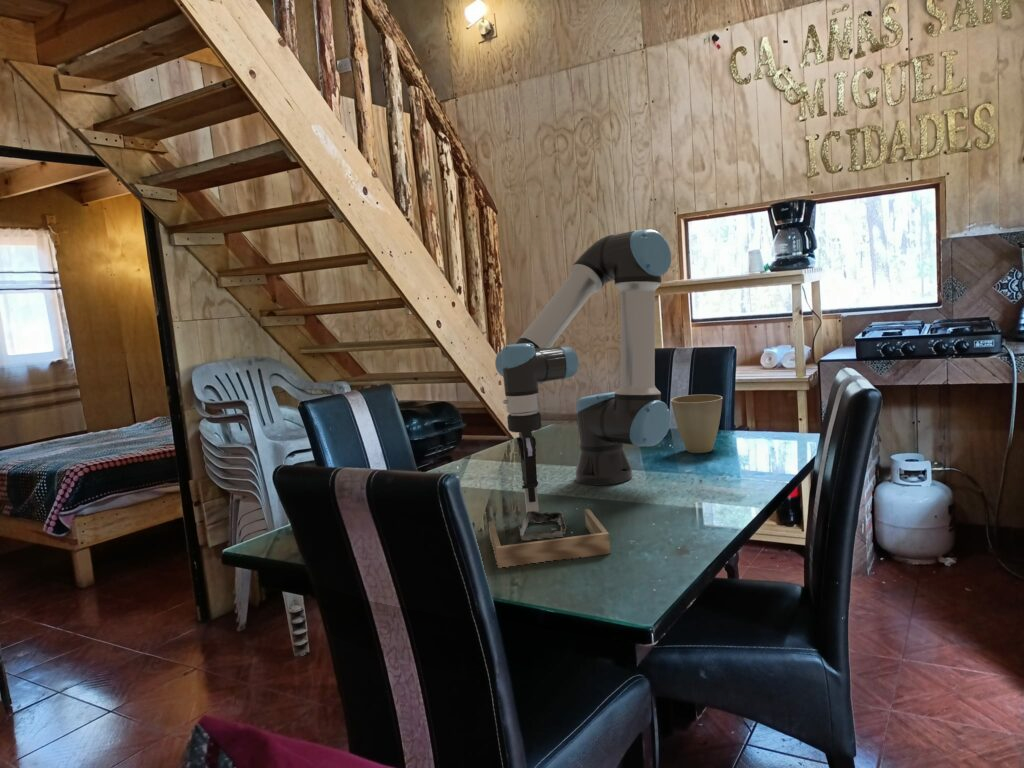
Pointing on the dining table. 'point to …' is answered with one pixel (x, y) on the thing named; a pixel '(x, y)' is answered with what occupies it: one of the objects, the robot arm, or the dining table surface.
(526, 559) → the box
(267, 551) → the dining table surface
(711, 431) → the plant pot
